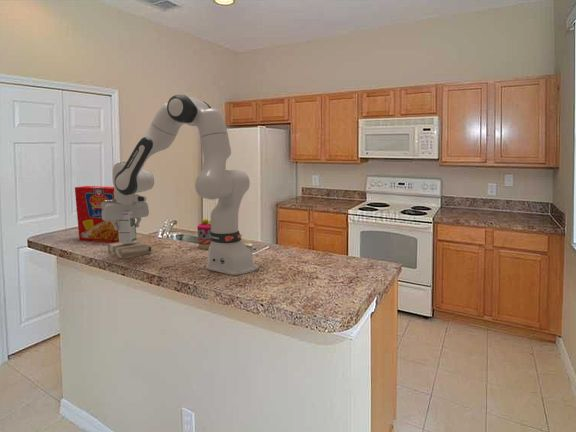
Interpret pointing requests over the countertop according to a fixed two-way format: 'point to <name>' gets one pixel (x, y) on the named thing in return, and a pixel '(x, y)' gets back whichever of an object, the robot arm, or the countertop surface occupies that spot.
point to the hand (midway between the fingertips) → (127, 228)
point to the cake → (204, 234)
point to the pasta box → (94, 214)
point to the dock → (128, 249)
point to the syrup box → (127, 228)
